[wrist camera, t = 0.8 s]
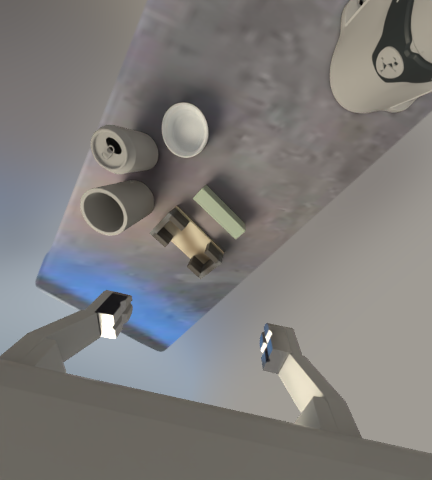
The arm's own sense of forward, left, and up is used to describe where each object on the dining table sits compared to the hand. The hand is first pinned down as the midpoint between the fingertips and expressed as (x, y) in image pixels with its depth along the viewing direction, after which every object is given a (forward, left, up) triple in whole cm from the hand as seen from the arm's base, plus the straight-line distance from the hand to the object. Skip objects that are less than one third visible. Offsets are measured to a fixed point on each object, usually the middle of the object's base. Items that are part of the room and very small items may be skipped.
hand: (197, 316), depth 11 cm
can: (+7, -20, -35) cm, 41 cm away
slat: (+3, +1, -35) cm, 35 cm away
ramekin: (-3, -15, -35) cm, 38 cm away
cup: (+17, -15, -35) cm, 41 cm away
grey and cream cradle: (+14, +1, -34) cm, 37 cm away
